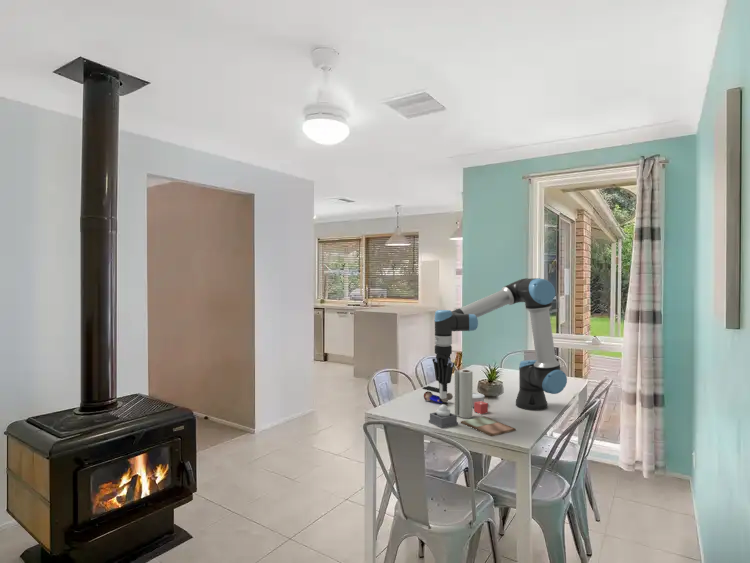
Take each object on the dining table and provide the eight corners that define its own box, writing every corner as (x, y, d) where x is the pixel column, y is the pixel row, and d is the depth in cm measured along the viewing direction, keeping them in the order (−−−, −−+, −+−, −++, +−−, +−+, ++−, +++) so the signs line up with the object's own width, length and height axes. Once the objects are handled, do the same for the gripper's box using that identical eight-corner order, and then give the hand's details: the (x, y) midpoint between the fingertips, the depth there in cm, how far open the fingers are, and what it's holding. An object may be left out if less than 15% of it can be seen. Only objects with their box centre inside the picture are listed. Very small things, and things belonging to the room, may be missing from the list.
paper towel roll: (474, 416, 210) (474, 370, 210) (468, 419, 206) (468, 372, 205) (461, 413, 215) (461, 368, 215) (454, 416, 210) (454, 370, 210)
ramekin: (481, 402, 234) (481, 391, 234) (487, 408, 223) (487, 397, 223) (459, 402, 234) (459, 392, 234) (464, 408, 223) (464, 398, 223)
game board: (484, 418, 208) (484, 416, 208) (515, 430, 191) (515, 428, 191) (460, 423, 201) (460, 421, 201) (491, 436, 184) (491, 434, 184)
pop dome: (444, 412, 204) (444, 402, 204) (452, 416, 199) (452, 405, 199) (433, 414, 201) (433, 403, 201) (442, 418, 196) (442, 407, 196)
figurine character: (452, 406, 232) (427, 398, 241) (454, 391, 231) (428, 384, 240) (445, 409, 226) (420, 400, 236) (447, 394, 226) (421, 386, 235)
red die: (481, 410, 220) (481, 400, 220) (487, 412, 216) (487, 403, 216) (474, 411, 217) (474, 402, 217) (480, 414, 214) (480, 404, 213)
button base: (444, 418, 207) (444, 410, 207) (458, 424, 199) (458, 415, 199) (428, 422, 202) (428, 413, 202) (441, 428, 194) (441, 418, 194)
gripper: (427, 343, 204) (427, 395, 204) (445, 347, 192) (445, 402, 193) (440, 342, 207) (440, 393, 208) (459, 346, 196) (459, 400, 196)
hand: (443, 398), depth 200 cm, fingers closed
